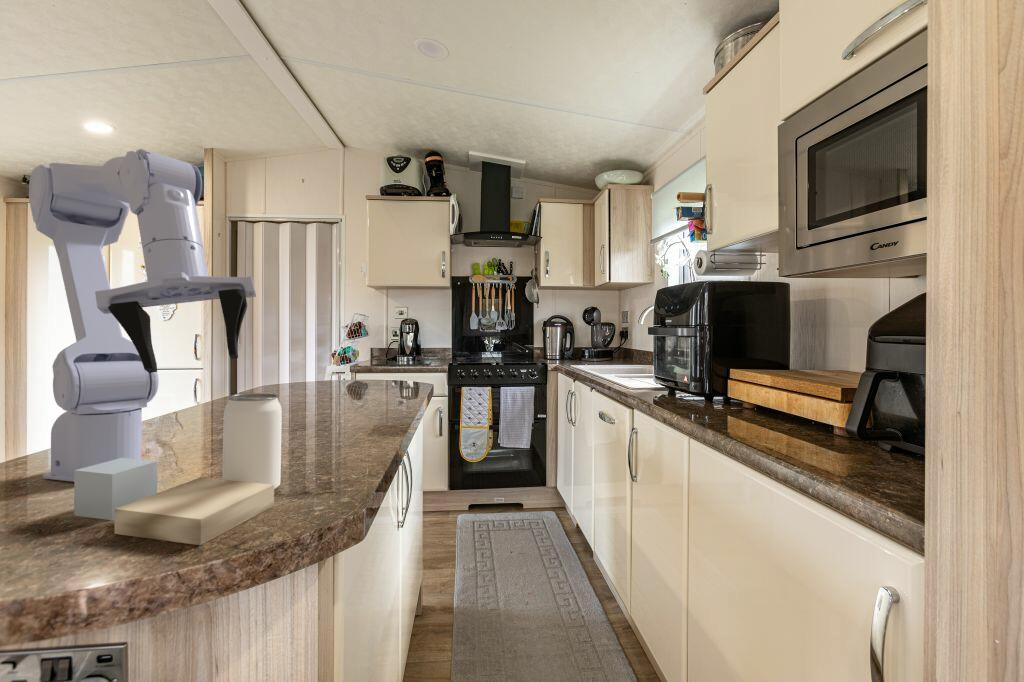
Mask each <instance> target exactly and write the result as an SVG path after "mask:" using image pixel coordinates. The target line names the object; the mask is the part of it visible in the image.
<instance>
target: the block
mask: <svg viewBox="0 0 1024 682" xmlns="http://www.w3.org/2000/svg"><path fill="white" fill-rule="evenodd" d="M157 464H158V461H157V460H150V459H149V460H147V459H141V460H139V459H129V458H119V459H116V460H112V461H108V462H104V463H100V464H97V465H93V466H89V467H85V468H81V469H78V470H74V482H73V483H74V487H73V490H74V492H73V493H74V495H73V502H74V503H73V504H74V505H73V514H74V515H73V516H77V517H84V518H90V519H98V518H99V520H101V519H102V520H108V521H115V509H116V508H118V507H121V506H124V505H127V504H129V503H132V502H135V501H137V500H140V499H143V498H146V497H148V496H151V495H154V494H157V493H158V467H157Z"/></svg>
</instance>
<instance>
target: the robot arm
mask: <svg viewBox="0 0 1024 682" xmlns="http://www.w3.org/2000/svg"><path fill="white" fill-rule="evenodd" d="M202 190H203V179H202V173H201V171H200V169H199V168H198V167H197V166H196V165H194V164H192V163H190V162H186V161H184V160H179V159H176V158H173V157H170V156H167V155H163V154H160V153H159V152H153V151H150V150H147V149H143V148H139V149H137V150H136V151H133V150H129V151H127V152H126V154H125V156H116V157H112V158H110V159H108V160H107V161H105V163H104V164H103V165H93V164H92V165H89V164H77V163H73V164H72V163H63V162H51V163H48V165H46V164H40V165H39V164H38V166H36V167H34V168H33V169H32V171H31V173H30V177H29V185H28V200H29V202H28V203H29V205H30V210H31V216H32V220H33V222H34V223H35V228H36V230H37V231H38V232H39V233H40V234H43V235H44V236H46V237H47V238H49V239H51V240H52V243H53V247H54V249H55V251H56V256H57V259H58V263H59V266H60V272H61V275H62V280H63V285H64V290H65V295H66V299H67V303H68V308H69V312H70V318H71V322H72V327H73V332H74V336H75V340H76V341H75V342H74V343H72V344H70V345H68V346H67V347H65V348H64V349H62V350H61V351H59V352H58V353H57V355H56V357H55V359H54V360H53V363H52V373H53V378H52V392H53V398H54V401H55V403H56V405H57V406H58V407H60V408H61V410H63V411H64V412H63V413H61V414H60V415H59V416H58V417H57V418H56V420H55V421H54V422H53V424H52V427H51V430H50V472H48V473H44V474H42V479H47V480H55V481H56V480H57V481H63V482H72V483H74V470H78V469H81V468H85V467H89V466H93V465H97V464H100V463H104V462H108V461H112V460H116V459H119V458H129V459H139V460H142V426H143V425H142V418H143V417H142V409H143V408H148V403H150V402H151V401H152V400H153V399H154V397H156V394H157V393H158V389H159V383H160V382H159V373H158V364H157V360H156V355H155V351H154V348H153V342H152V341H153V340H152V330H151V329H152V328H151V316H150V315H149V313H148V312H147V311H146V310H145V309H144V308H147V307H148V308H149V307H157V306H166V305H176V304H185V303H194V302H203V301H211V300H219V302H220V306H221V311H222V315H223V320H224V327H225V336H226V347H227V351H228V355H229V357H230V359H231V360H236V359H239V350H238V349H239V348H238V347H239V338H240V331H241V328H242V324H243V320H244V319H245V315H246V313H247V308H248V302H247V298H256V296H257V294H256V289H255V283H254V278H253V276H252V275H251V276H211V275H210V276H209V271H208V265H207V259H206V256H205V249H204V244H203V243H204V242H203V239H202V232H201V228H200V223H199V217H198V212H197V205H198V204H199V201H200V198H201V196H202ZM129 212H131V213H132V214H134V215H135V216H136V217H137V223H138V230H139V236H140V242H141V247H142V254H143V262H144V267H145V273H146V279H147V281H142V282H138V283H133V284H129V285H126V286H120V287H115V288H111V283H110V279H109V276H108V272H107V267H106V263H105V260H104V255H103V251H102V249H103V247H106V246H109V245H112V244H115V243H117V242H118V241H119V238H120V236H121V234H122V232H123V229H124V226H125V223H126V219H127V218H128V216H129ZM121 327H122V328H123V330H124V331H125V333H126V334H127V336H128V337H129V339H130V340H129V339H128V338H126V337H124V336H123V333H122V328H121ZM157 468H158V463H157Z"/></svg>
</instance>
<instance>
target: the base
mask: <svg viewBox="0 0 1024 682" xmlns="http://www.w3.org/2000/svg"><path fill="white" fill-rule="evenodd" d="M273 507H275V490H274V485H271V484H262V483H252V482H242V481H232V480H223V478H222V479H221V478H212V477H211V478H210V477H197V478H195V479H193V480H189V481H187V482H184V483H182V484H179V485H176V486H173V487H171V488H168V489H165V490H162V491H160V492H157V494H154V495H151V496H148V497H146V498H143V499H140V500H137V501H135V502H132V503H129V504H127V505H124V506H121V507H118V508H116V509H115V519H114V534H115V535H121V536H128V537H135V538H144V539H150V540H151V539H152V540H158V541H164V542H165V541H166V542H173V543H180V544H181V543H182V544H188V545H195V546H196V545H197V546H202V545H204V544H206V543H208V542H210V541H211V540H213V539H215V538H217V537H219V536H221V535H222V534H225V533H227V532H228V531H230V530H232V529H234V528H236V527H237V526H240V525H241V524H243V523H245V522H246V521H248V520H250V519H253V518H254V517H257V516H258V515H260V514H262V513H264V512H265V511H267V510H269V509H271V508H273Z"/></svg>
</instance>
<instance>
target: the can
mask: <svg viewBox="0 0 1024 682" xmlns="http://www.w3.org/2000/svg"><path fill="white" fill-rule="evenodd" d="M227 400H228V401H227V404H226V405H225V407H224V409H223V420H222V421H223V424H222V425H223V426H222V427H223V429H222V479H223V480H232V481H242V482H252V483H262V484H271V485H274V491H276V490H277V489H278V487H279V486H280V485H281V474H282V473H281V471H282V464H281V463H282V421H283V419H282V418H283V417H282V415H283V413H282V411H283V410H282V406H281V403H280V402H279V394H275V393H264V392H263V393H262V392H261V393H259V392H258V393H241V394H233V395H230V396H228V397H227Z"/></svg>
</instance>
